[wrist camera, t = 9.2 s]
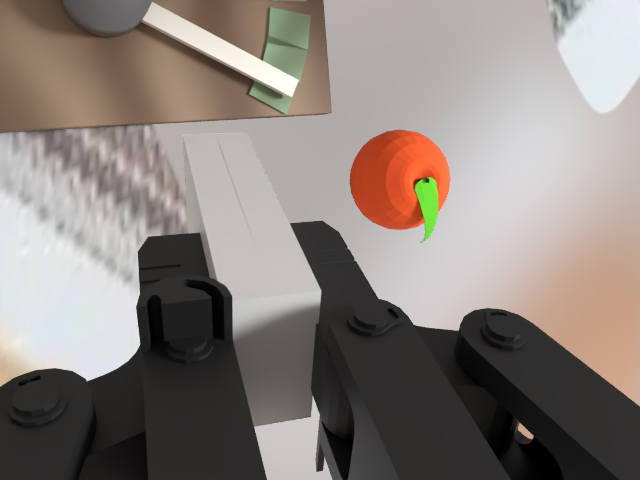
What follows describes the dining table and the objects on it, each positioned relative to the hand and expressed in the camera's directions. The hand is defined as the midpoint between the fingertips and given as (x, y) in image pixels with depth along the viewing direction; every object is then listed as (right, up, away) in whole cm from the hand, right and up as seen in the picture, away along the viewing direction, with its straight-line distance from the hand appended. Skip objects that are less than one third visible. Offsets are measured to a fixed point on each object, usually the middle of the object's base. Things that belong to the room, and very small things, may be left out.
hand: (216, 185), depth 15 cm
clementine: (+7, +3, +31) cm, 32 cm away
